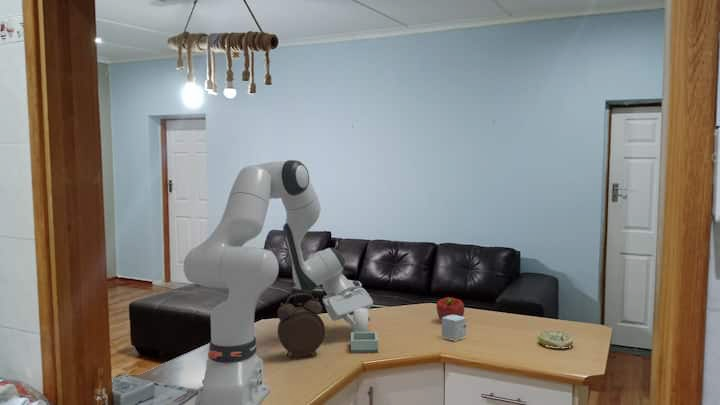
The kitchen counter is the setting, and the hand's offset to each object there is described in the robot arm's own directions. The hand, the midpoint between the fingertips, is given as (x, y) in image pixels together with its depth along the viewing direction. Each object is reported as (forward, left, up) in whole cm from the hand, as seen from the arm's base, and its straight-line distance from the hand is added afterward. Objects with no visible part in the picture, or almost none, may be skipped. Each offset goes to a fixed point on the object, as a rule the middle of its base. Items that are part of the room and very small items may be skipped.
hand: (362, 323), depth 181 cm
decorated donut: (-9, -64, -6) cm, 64 cm away
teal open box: (-10, -1, -5) cm, 11 cm away
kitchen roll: (0, 0, -5) cm, 5 cm away
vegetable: (+17, -34, -6) cm, 38 cm away
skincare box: (-1, -32, -6) cm, 32 cm away
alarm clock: (-16, +19, -6) cm, 26 cm away
